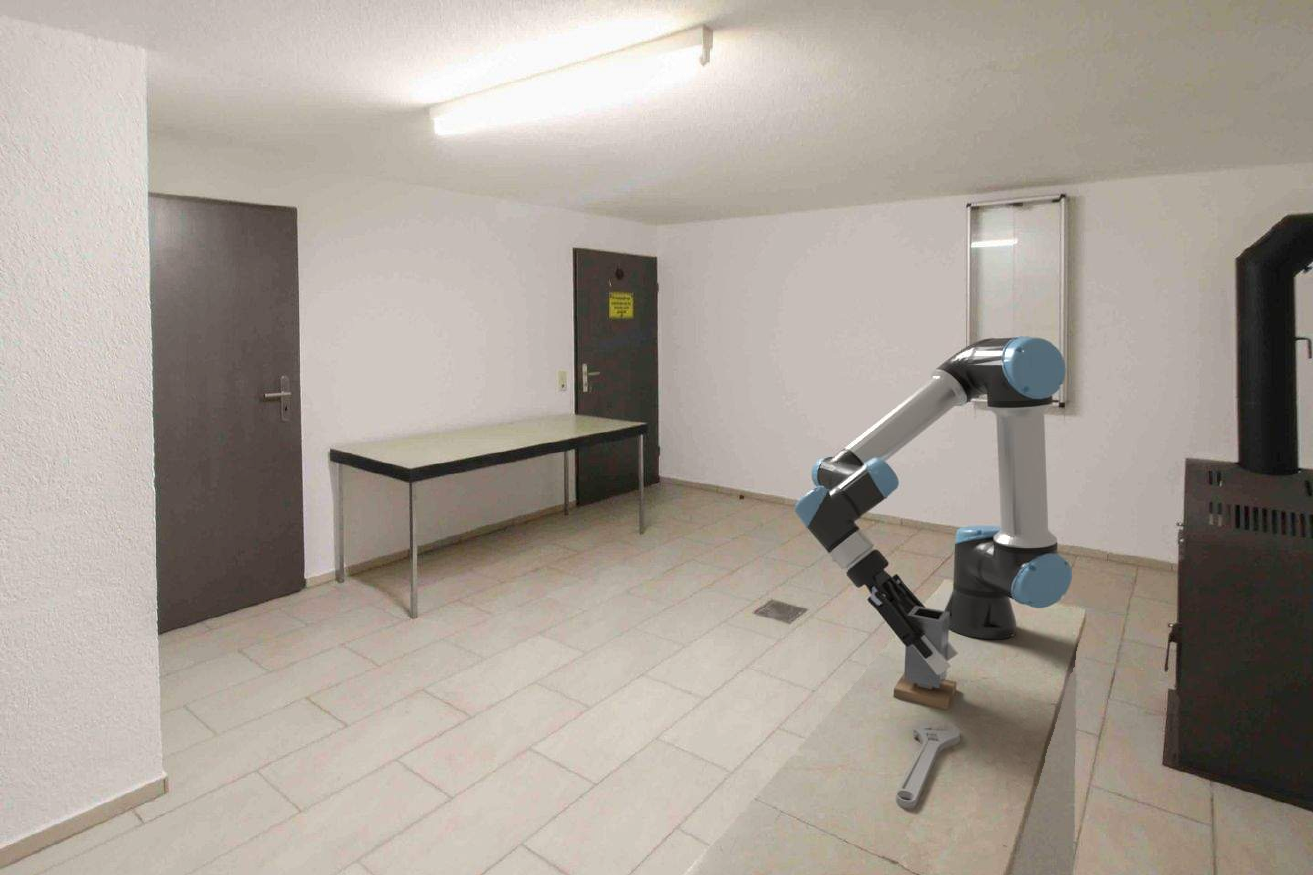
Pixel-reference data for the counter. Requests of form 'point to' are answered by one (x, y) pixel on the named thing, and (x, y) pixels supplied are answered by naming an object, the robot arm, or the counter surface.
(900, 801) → the adjustable wrench
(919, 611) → the grey square tube
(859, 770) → the counter surface
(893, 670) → the counter surface
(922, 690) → the drive block
